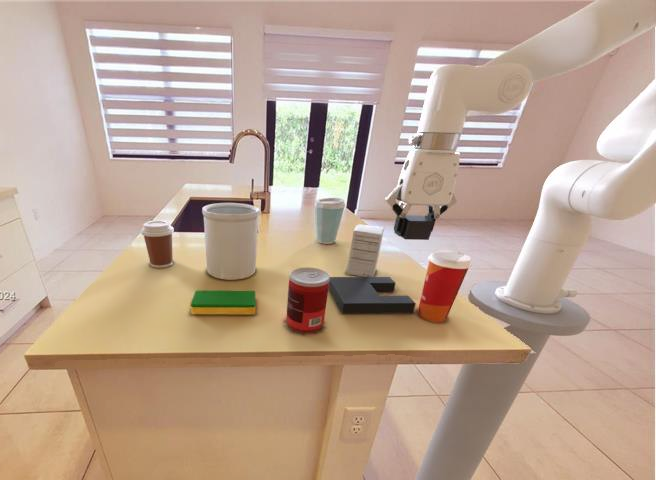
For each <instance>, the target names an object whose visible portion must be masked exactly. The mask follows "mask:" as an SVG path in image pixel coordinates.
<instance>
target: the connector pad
mask: <svg viewBox="0 0 656 480" xmlns="http://www.w3.org/2000/svg"><path fill="white" fill-rule="evenodd" d="M406 218H407V223H406V227H405V231H404V235H403V236H402V237H401V238H402V239H404V240H410V241H411V240H412V241H413V240H417V241H418V240H420V241H429V240H430V237H431V235H430V234H432V232H431V230H432V227H433V223H434V221H432V220H430V219H428V218H426V217H425V215H420V214H419V215H417V214H416V215H415V214H413V215H411V214H407V215H406Z"/></svg>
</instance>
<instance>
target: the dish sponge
mask: <svg viewBox="0 0 656 480" xmlns="http://www.w3.org/2000/svg"><path fill="white" fill-rule="evenodd" d="M256 305H257V304H256V291H255V290H213V289H211V290H210V289H209V290H205V289H203V290H201V289H200V290H199V289H198V290H195V291H194V293H193V296H192V299H191V302H190V312H191V314H192V315H256V307H257V306H256Z"/></svg>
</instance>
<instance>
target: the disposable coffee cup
mask: <svg viewBox="0 0 656 480" xmlns="http://www.w3.org/2000/svg"><path fill="white" fill-rule="evenodd" d="M313 206H314V221H315V238H316V241H317V243H318V244H319V243H320V244H323V245H330V244H334V243H335V241H336V240H337V237H338V233H339V229H340V225H341V221H342V217H343V214H344V210H345V208H346V203H345V199H344V198H341V197H323V198H319V199H316V201H314V204H313Z"/></svg>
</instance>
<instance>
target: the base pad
mask: <svg viewBox="0 0 656 480" xmlns="http://www.w3.org/2000/svg"><path fill="white" fill-rule="evenodd" d="M396 284H397V282H395V280H393V278H392V277H390V276H373V277H361V276H330V281H329V289H328V291H329V292H330V294H331V295H332V297H333V299H334V301H335V303H336V304H337V306H338V308H339V310H340V313H341V314H414V311H415V308H416V304H417V303H416V302H415V301H414V300H413V298H411V297H410V296H409V295H380V294H379V293H394V291H395V288H396Z"/></svg>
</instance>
